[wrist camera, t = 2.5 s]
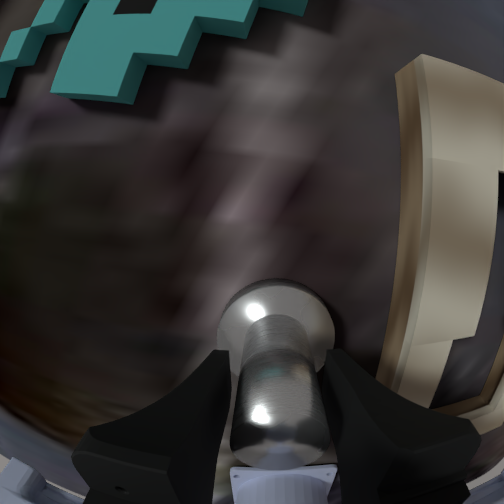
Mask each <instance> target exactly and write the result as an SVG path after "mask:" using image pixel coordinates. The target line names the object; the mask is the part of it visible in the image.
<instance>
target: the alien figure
mask: <svg viewBox="0 0 504 504" xmlns="http://www.w3.org/2000/svg"><path fill="white" fill-rule="evenodd" d="M84 3H88V4H87V6H86V8H85V10H84V12H83V14H82V16H81V18H80V20H79V22H78V24H77V26H76V28H75V30H74V32H73V34H72V36H71V39H70V41H69V43H68V45H67V48H66V50H65V53H64V55H63V57H62V60H61V63H60V65H59V68H58V70H57V73H56V76H55V79H54V82H53V85H52V87H51V91H50V93H53V94H57V95H60V96H63V97H66V98H70V99H85V100H97V101H107V102H116V103H125V104H132V105H133V104H134V101H135V98H136V95H137V92H138V89H139V86H140V83H141V80H142V78H143V75H144V72H145V70H146V67H147V65H157V66H166V67H174V68H182V69H188V68H189V65H190V62H191V60H192V57H193V54H194V52H195V49H196V47H197V44H198V42H199V40H200V37H201V35H202V32H204V33H212V34H219V35H225V36H231V37H237V38H243V39H247V36H248V33H249V31H250V28H251V26H252V23H253V21H254V18H255V16H256V13H257V11H258V8H259V7H263V8H268V9H273V10H277V11H281V12H286V13H290V14H294V15H298V16H301V17H303V15H304V12H305V9H306V6H307V3H308V0H45V1H44V2H43V4H42V6H41V8H40V10H39V12H38V14H37V16H36V17H35V19H34V21H33V23H32V25H31V27H29V28H25V29H21V30H17V31H14V32H12V33H11V35H10V37H9V39H8V42H7V44H6V46H5V49H4V51H3V53H2V56H1V59H0V98H6V95H7V91H8V88H9V85H10V82H11V79H12V76H13V73H14V71H15V68H16V67H22V66H30V65H34V64H35V61H36V59H37V56H38V54H39V51H40V49H41V47H42V44H43V42H44V40H45V38H46V35H50V34H57V33H64V32H69V31H70V29H71V27H72V25H73V23H74V21H75V19H76V17H77V15H78V13H79V11H80V9H81V8H82V6H83V4H84Z"/></svg>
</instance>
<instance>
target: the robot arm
mask: <svg viewBox="0 0 504 504" xmlns="http://www.w3.org/2000/svg"><path fill="white" fill-rule="evenodd" d="M231 390H232V387H231V372H230V357H229V350H213V351H212V352H211V353H210V354H209V356H208V357H207V358H206V359H205V360H204V361H203V362H202V363H201V364H200V366H199V367H198V368H197V369H196V370H195V371H194V372H193V373H192V374H191V375H190V376H189V377H188V378H187V379H185V380H184V381H183V382H182V383H181V384H180V385H179V386H177V387H176V388H175V389H174V390H173V391H171V392H170V393H169V394H167V395H166V396H164V397H163V398H161V399H160V400H158V401H157V402H155V403H153V404H151V405H149V406H147V407H146V408H144V409H142V410H140V411H138V412H136V413H133V414H131V415H129V416H126V417H124V418H121V419H118V420H115V421H112V422H109V423H105V424H101V425H98V426H94V427H90V428H89V429H88V430H87V432H86V433H85V434H84V436H83V437H82V439H81V441H80V442H79V444H78V445H77V447H76V449H75V450H74V452H73V454H72V456H71V458H72V462H73V464H74V466H75V468H76V470H77V471H78V472H79V474H80V475H81V476H82V478H83V479H84V480H85V482H86V483H87V484H88V486H89V487H90V490H89V492H88V494H87V496H86V498H85V500H84V499H82V498H79V497H77V496H75V495H72V494H70V493H68V492H66V491H63V490H61V489H59V488H57V487H55V486H53V485H51V484H49V483H47V482H46V480H45V479H44V477H43V476H42V475H41V474H40V473H39V472H38V471H37V470H36V469H34V468H33V467H31V466H29V465H27V464H26V463H24V462H22V461H20V460H19V459H17V458H15V457H13V458H12V459H11V460H10V462H9V463H8V464H7V466H6V467H5V468H4V470H3V471H2V472H1V474H0V504H212V498H213V489H214V480H215V472H216V464H217V457H218V452H219V448H220V444H221V440H222V436H223V432H224V428H225V424H226V420H227V416H228V412H229V408H230V399H231ZM322 396H323V403H324V409H325V413H326V416H327V420H328V423H329V427H330V431H331V434H332V438H333V442H334V445H335V449H336V454H337V460H338V467H339V476H340V486H341V498H342V504H504V470H503V471H502V472H501V474H500V475H498V476H497V477H495V478H493V479H491V480H489V481H487V482H485V483H483V484H481V485H479V486H477V487H475V488H473V489H471V490H468V487H467V485H466V483H465V481H464V480H465V479H466V478H467V474H466V472H465V470H464V468H465V467H466V466H467V464H468V463H469V462H470V460H471V459H472V457H473V456H474V455H475V453H476V451H477V450H478V448H479V446H480V442H481V436H480V434H479V433H478V431H477V430H476V428H475V427H474V425H473V424H472V422H471V421H470V420H469V419H466V418H461V417H456V416H451V415H447V414H443V413H440V412H437V411H434V410H431V409H428V408H426V407H423V406H421V405H418V404H416V403H414V402H412V401H410V400H408V399H406V398H404V397H402V396H400V395H399V394H397V393H395V392H394V391H392V390H390V389H389V388H387V387H386V386H384V385H383V384H382V383H380V382H379V381H378V380H376V379H375V378H374V377H372V376H371V375H370V374H369V373H367V372H366V371H365V370H364V369H363V368H362V367H361V366H359V365H358V364H357V363H356V362H355V361H354V360H353V359H352V358H351V357H350V356H349V355H348V354H346V353H345V352H344V351H343V350H342V349H327V350H326V358H325V366H324V374H323V381H322ZM336 472H337V466H336V465H335V464H329V465H318V466H304V467H299V468H295V469H290V470H279V471H276V470H264V469H259V468H255V467H232V468H231V469H230V477H231V484H232V491H233V497H234V504H328V500H327V496H328V493H329V491H330V488H331V486H332V483H333V480H334V478H335V475H336Z"/></svg>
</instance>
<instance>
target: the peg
mask: <svg viewBox="0 0 504 504" xmlns="http://www.w3.org/2000/svg"><path fill="white" fill-rule="evenodd" d="M334 341H335V330H334V325H333V321H332V319H331V317H330V314H329V312H328V310H327V308H326V305H325V304H324V302H323V301H322V299H321V298H320V297H319V296H318V295H317V294H316V293H315V292H314V291H313V290H312V289H310V288H309V287H307V286H306V285H303V284H301V283H299V282H296V281H293V280H288V279H279V278H274V279H265V280H260V281H257V282H254V283H252V284H250V285H248V286H246V287H244V288H243V289H241V290H240V291H239V292H237V293H236V294H235V295H234V296H233V297H232V298H231V299H230V301H229V302H228V304H227V305H226V307H225V309H224V311H223V314H222V317H221V321H220V324H219V327H218V331H217V345H218V350H229V357H230V370H231V371H232V372H233V373H234V374H236V375H237V376H238V377H239V381H238V388H237V395H236V402H235V408H234V415H233V422H232V429H231V436H230V448H231V450H232V452H233V454H234V455H235V456H236V457H237V458H238V459H239V460H241V461H242V462H244V463H245V464H247V465H250V466H252V467H255V468H259V469H264V470H276V471H279V470H290V469H295V468H299V467H302V466H305V465H307V464H309V463H311V462H313V461H315V460H316V459H318V458H319V457H320V456H322V455H323V454H324V452H325V451H326V450H327V448H328V447H329V444H330V433H329V428H328V423H327V419H326V414H325V409H324V405H323V400H322V396H321V391H320V387H319V382H318V378H317V373H316V372H317V371H319V370H320V369H321V368H322V367H323V365H324V364H325V358H326V350H327V349H333V346H334Z"/></svg>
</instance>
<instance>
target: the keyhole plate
mask: <svg viewBox="0 0 504 504" xmlns="http://www.w3.org/2000/svg"><path fill="white" fill-rule="evenodd" d="M395 80H396V88H397V98H398V109H399V123H400V143H401V203H400V223H399V238H398V250H397V260H396V269H395V277H394V285H393V292H392V299H391V305H390V312H389V317H388V323H387V329H386V334H385V339H384V344H383V349H382V353H381V358H380V362H379V366H378V371H377V375H376V380H378V381H379V382H380V383H382V384H383V385H384V386H386V387H387V388H389V389H390V390H392V391H394V392H395V393H397V394H399V395H400V396H402V397H404V398H406V399H408V400H410V401H412V402H414V403H416V404H418V405H421V406H423V407H426V408H429V406H430V404H431V401H432V399H433V396H434V394H435V391H436V389H437V386H438V384H439V381H440V378H441V375H442V373H443V370H444V367H445V364H446V361H447V358H448V355H449V352H450V348H451V345H452V342H453V340H455V339H460V338H466V337H471V336H474V335H475V332H476V328H477V325H478V321H479V318H480V314H481V310H482V306H483V302H484V297H485V293H486V288H487V283H488V278H489V273H490V267H491V261H492V255H493V247H494V239H495V230H496V219H497V205H498V172H500V173H504V84H503V83H501V82H499V81H496V80H494V79H492V78H489V77H487V76H485V75H482V74H480V73H477V72H475V71H472V70H470V69H467V68H464V67H462V66H459V65H456V64H453V63H450V62H447V61H444V60H441V59H437V58H434V57H431V56H427V55H424V54H421V55H420V56H418V57H417V58H416V59H414V60H413V61H412V62H410V63H409V64H408V65H406V66H405V67H404V68H402V69H401V70H400V71H398V72H397V73H396V74H395ZM431 410H434V411H437V412H440V413H443V414H447V415H451V416H456V417H461V418H466V419H469V420H470V421H471V422H472V424H473V425H474V427H475V428H476V430H477V431H478V433H479V434H480V435H481V434H484V433H486V432H488V431H490V430H493V429H495V428H497V427H499V426H501V425H502V423H503V422H504V335H503V338H502V341H501V344H500V347H499V350H498V353H497V355H496V358H495V361H494V363H493V366H492V368H491V371H490V373H489V376H488V378H487V380H486V383H485V385H484V387H483V389H482V391H481V394H480V395H479V396H476V397H473V398H470V399H467V400H464V401H460V402H457V403H454V404H450V405H447V406H443V407H439V408H435V409H431Z"/></svg>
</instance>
